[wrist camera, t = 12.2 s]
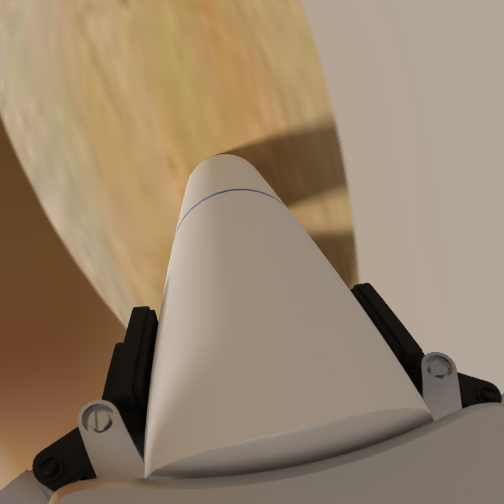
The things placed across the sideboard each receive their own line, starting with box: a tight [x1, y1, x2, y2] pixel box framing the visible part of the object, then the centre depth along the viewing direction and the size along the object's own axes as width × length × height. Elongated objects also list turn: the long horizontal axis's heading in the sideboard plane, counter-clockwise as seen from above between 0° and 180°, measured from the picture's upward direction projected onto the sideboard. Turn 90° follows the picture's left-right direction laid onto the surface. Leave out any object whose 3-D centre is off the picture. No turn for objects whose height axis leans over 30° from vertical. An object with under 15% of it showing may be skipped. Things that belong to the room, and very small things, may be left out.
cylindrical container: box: [143, 154, 434, 479], centre depth 16 cm, size 7×7×25 cm
